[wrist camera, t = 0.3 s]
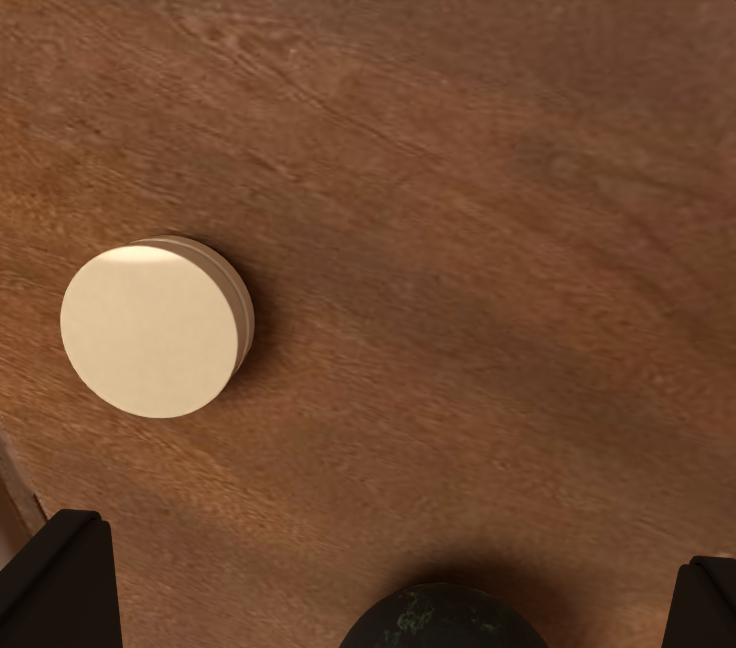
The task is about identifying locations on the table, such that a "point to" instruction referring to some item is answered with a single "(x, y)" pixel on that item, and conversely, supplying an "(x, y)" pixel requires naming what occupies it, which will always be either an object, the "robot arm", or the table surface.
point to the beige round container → (157, 325)
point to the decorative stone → (442, 621)
